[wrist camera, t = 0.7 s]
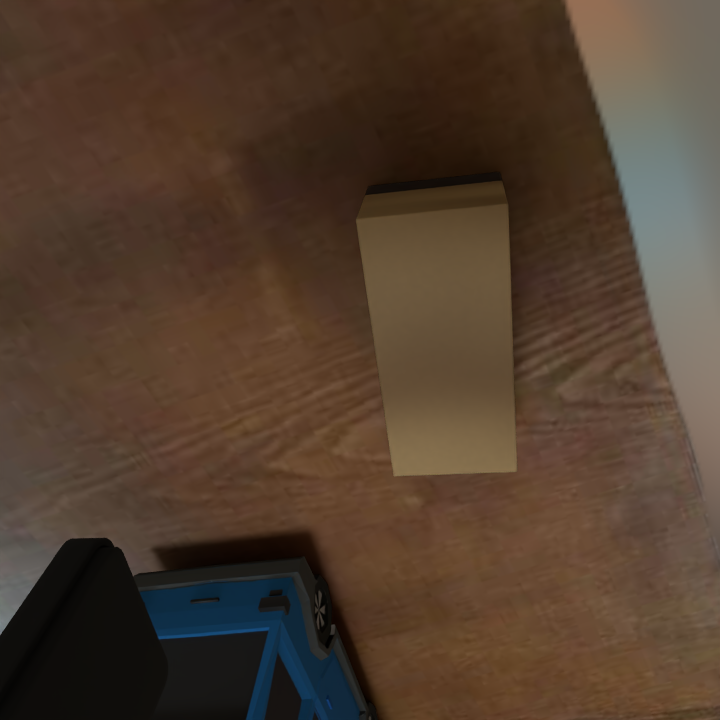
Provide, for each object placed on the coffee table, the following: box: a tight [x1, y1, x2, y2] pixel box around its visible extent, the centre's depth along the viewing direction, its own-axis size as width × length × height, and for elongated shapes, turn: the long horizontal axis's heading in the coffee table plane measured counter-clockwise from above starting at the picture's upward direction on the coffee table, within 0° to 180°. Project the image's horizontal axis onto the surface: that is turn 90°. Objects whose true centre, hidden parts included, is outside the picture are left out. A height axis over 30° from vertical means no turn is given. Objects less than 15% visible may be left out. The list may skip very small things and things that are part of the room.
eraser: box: [356, 172, 517, 476], centre depth 27 cm, size 11×5×4 cm, turn 8°
